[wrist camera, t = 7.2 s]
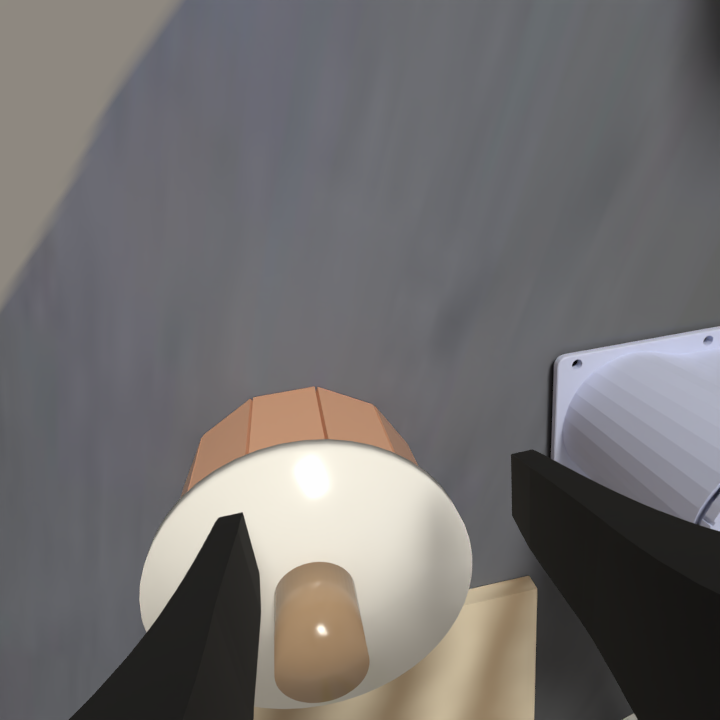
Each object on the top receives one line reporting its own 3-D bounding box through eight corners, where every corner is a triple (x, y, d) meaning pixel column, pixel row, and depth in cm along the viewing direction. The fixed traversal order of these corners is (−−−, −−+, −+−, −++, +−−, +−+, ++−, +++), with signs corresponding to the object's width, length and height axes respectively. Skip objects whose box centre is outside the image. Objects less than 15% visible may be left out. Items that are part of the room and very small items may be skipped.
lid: (506, 461, 20) (560, 528, 16) (417, 692, 24) (444, 788, 20) (164, 416, 17) (134, 486, 13) (129, 689, 21) (98, 802, 17)
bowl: (401, 371, 23) (433, 421, 19) (418, 553, 27) (448, 631, 23) (160, 413, 22) (130, 479, 17) (216, 597, 26) (204, 689, 21)
